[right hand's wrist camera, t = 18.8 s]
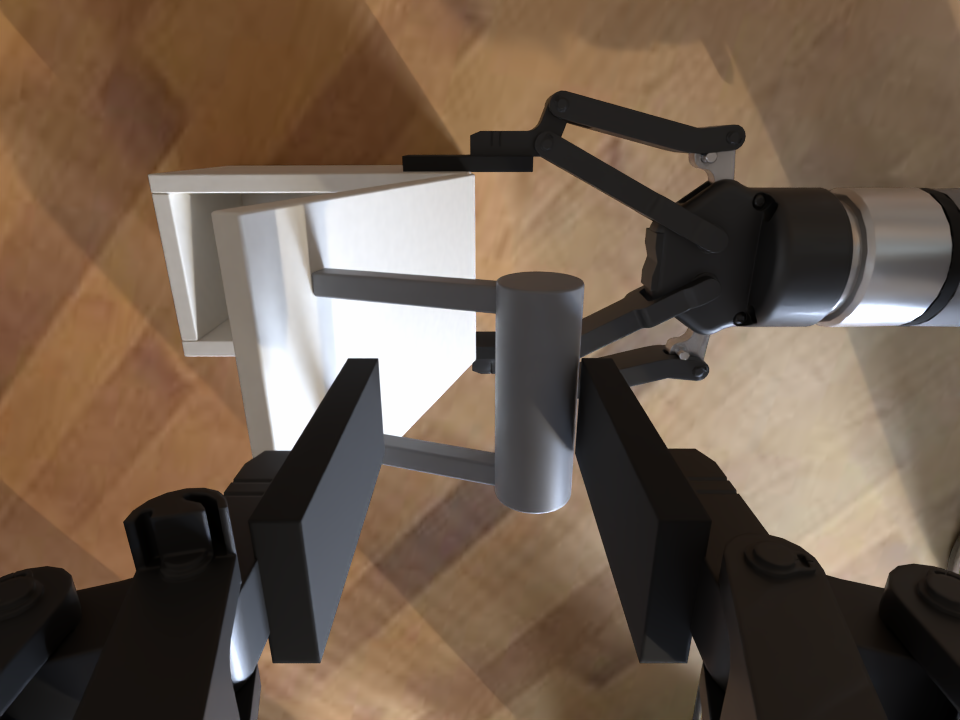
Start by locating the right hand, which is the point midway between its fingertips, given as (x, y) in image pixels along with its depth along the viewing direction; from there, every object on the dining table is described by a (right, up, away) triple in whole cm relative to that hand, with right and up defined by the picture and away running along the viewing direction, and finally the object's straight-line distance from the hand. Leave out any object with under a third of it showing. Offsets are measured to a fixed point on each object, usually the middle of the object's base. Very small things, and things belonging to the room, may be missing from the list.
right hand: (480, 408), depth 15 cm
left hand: (-4, +7, +17) cm, 19 cm away
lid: (-4, +3, +7) cm, 8 cm away
